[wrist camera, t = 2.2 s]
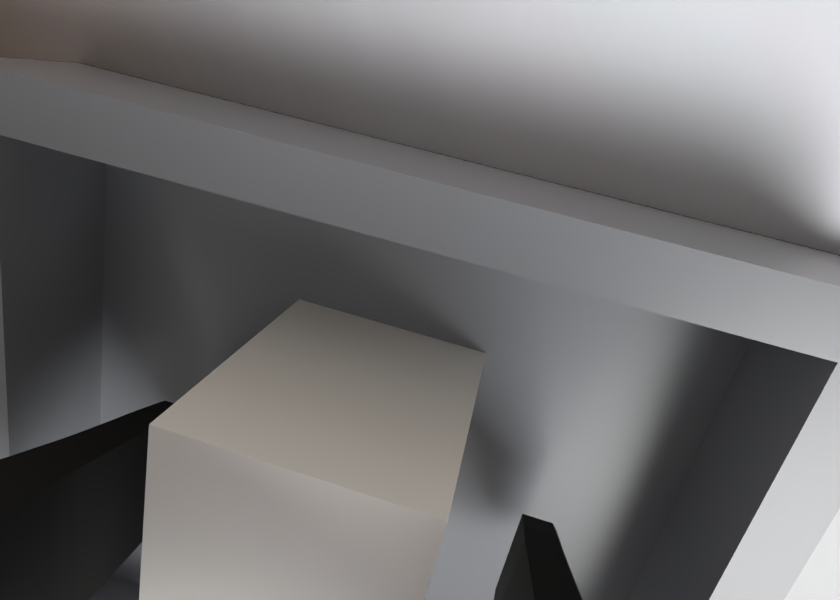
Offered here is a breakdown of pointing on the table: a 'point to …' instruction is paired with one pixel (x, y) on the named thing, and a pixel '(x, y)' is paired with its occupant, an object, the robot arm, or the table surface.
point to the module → (309, 465)
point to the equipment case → (434, 327)
